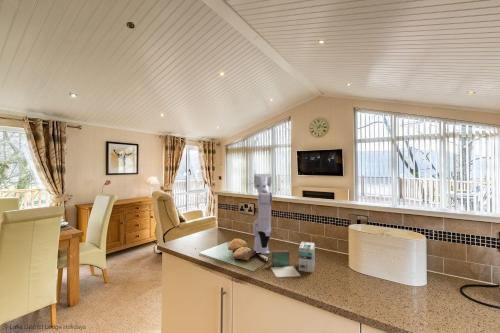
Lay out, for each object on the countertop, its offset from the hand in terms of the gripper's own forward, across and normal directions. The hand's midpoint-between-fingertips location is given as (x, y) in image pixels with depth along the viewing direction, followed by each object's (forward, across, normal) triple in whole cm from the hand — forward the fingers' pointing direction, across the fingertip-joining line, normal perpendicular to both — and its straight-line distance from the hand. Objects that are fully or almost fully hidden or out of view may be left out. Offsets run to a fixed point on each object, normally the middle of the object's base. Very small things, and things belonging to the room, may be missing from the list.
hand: (264, 247), depth 113 cm
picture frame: (+10, -3, +9) cm, 14 cm away
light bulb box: (+10, +1, +21) cm, 24 cm away
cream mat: (+10, +4, +9) cm, 14 cm away
